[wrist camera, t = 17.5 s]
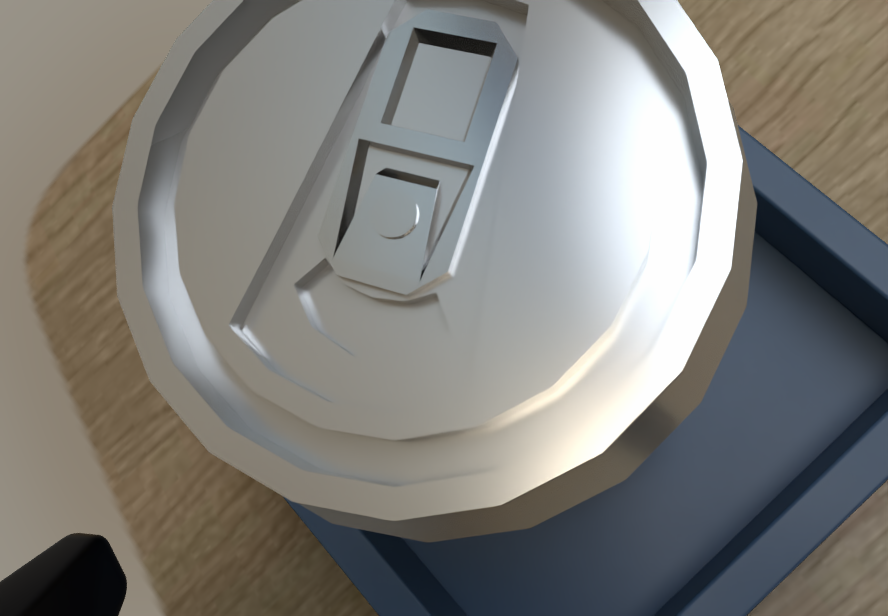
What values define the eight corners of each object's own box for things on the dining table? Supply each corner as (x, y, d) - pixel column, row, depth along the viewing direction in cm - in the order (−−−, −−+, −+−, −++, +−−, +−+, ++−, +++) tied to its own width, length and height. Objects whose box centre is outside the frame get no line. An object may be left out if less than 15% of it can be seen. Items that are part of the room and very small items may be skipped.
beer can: (475, 224, 19) (217, -166, 7) (712, 284, 17) (865, -82, 6) (401, 450, 18) (-8, 418, 7) (641, 532, 17) (654, 680, 5)
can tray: (553, 765, 17) (539, 815, 14) (221, 366, 20) (165, 352, 18) (966, 367, 16) (1023, 350, 14) (556, 30, 20) (544, -31, 17)
